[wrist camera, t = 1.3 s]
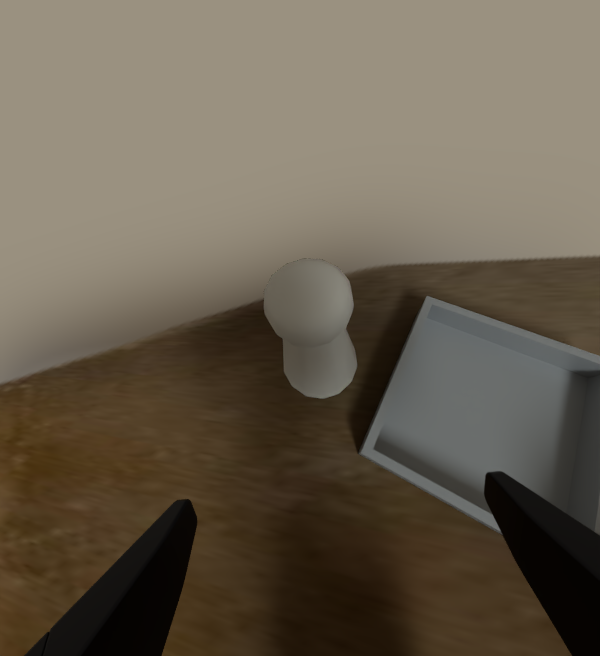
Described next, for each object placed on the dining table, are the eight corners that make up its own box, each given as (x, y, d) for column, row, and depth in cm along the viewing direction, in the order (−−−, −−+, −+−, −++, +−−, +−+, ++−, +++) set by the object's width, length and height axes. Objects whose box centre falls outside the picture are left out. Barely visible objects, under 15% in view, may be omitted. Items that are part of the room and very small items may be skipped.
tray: (559, 567, 17) (602, 588, 14) (357, 453, 21) (360, 453, 18) (590, 377, 21) (627, 365, 18) (417, 313, 25) (426, 295, 22)
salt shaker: (277, 358, 25) (223, 271, 13) (332, 327, 25) (326, 218, 14) (309, 417, 22) (277, 374, 11) (368, 381, 23) (400, 304, 11)
